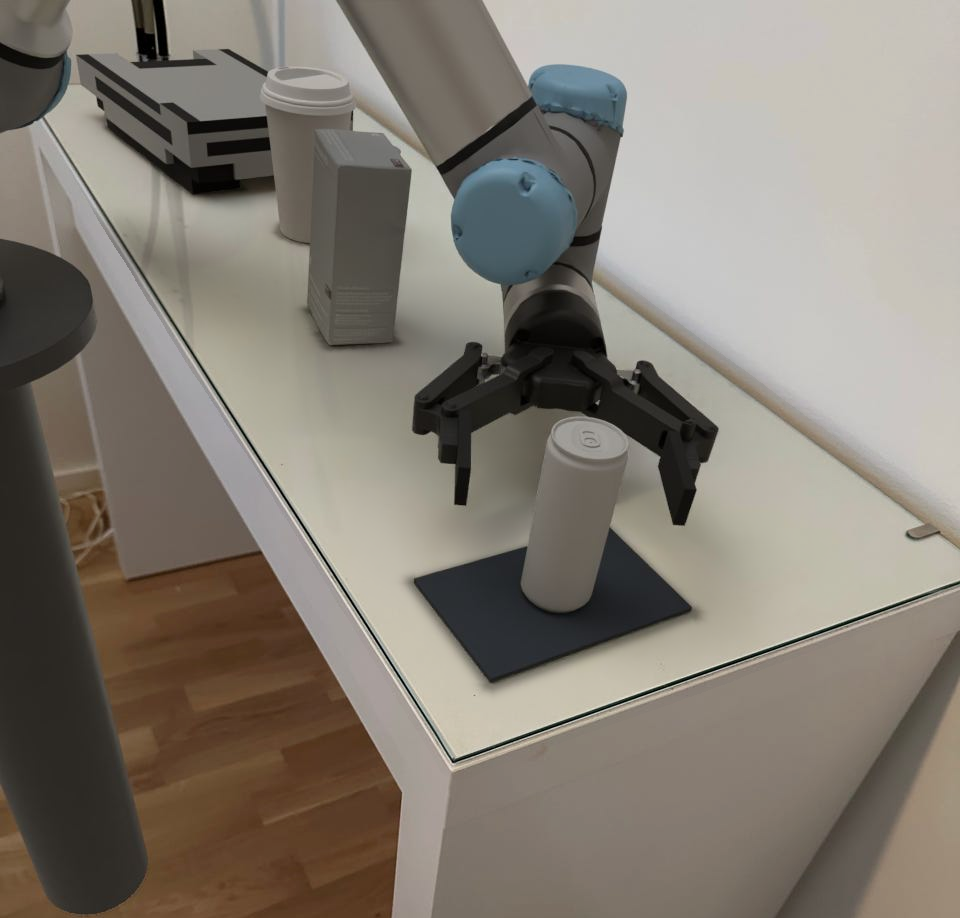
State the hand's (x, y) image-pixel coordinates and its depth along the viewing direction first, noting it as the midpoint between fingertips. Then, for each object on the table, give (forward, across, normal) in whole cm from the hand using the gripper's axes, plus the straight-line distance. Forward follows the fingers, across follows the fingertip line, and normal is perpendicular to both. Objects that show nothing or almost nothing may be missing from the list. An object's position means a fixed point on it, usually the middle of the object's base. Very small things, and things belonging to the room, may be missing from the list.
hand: (574, 497), depth 55 cm
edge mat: (0, 0, -8) cm, 9 cm away
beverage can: (0, 0, -8) cm, 8 cm away
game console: (-82, +38, -9) cm, 91 cm away
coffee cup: (-59, +23, -9) cm, 64 cm away
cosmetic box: (-37, +17, -9) cm, 42 cm away
